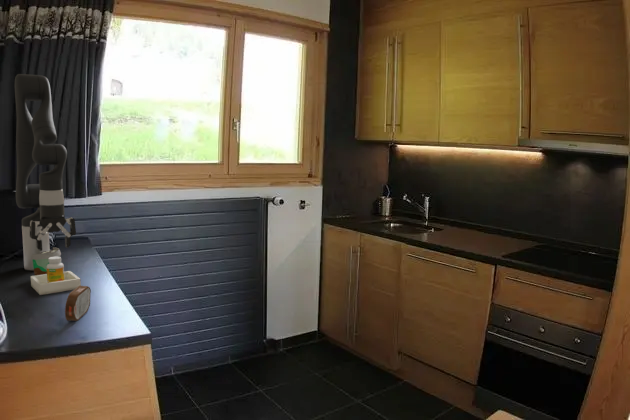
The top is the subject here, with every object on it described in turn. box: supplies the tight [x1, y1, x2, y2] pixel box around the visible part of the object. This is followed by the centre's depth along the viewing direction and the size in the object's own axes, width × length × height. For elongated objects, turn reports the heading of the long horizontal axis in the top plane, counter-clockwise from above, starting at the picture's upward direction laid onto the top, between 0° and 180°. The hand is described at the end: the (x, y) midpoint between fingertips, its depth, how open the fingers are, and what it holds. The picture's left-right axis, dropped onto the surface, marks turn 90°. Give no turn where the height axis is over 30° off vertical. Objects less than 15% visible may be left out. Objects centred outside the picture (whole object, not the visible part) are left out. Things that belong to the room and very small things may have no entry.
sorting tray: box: [30, 270, 82, 296], centre depth 187 cm, size 13×13×4 cm
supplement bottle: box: [47, 256, 65, 283], centre depth 187 cm, size 5×5×10 cm
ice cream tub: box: [31, 246, 62, 276], centre depth 200 cm, size 12×6×10 cm, turn 168°
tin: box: [64, 284, 92, 322], centre depth 159 cm, size 15×3×8 cm, turn 5°
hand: (53, 248), depth 186 cm, fingers open, 8 cm apart
